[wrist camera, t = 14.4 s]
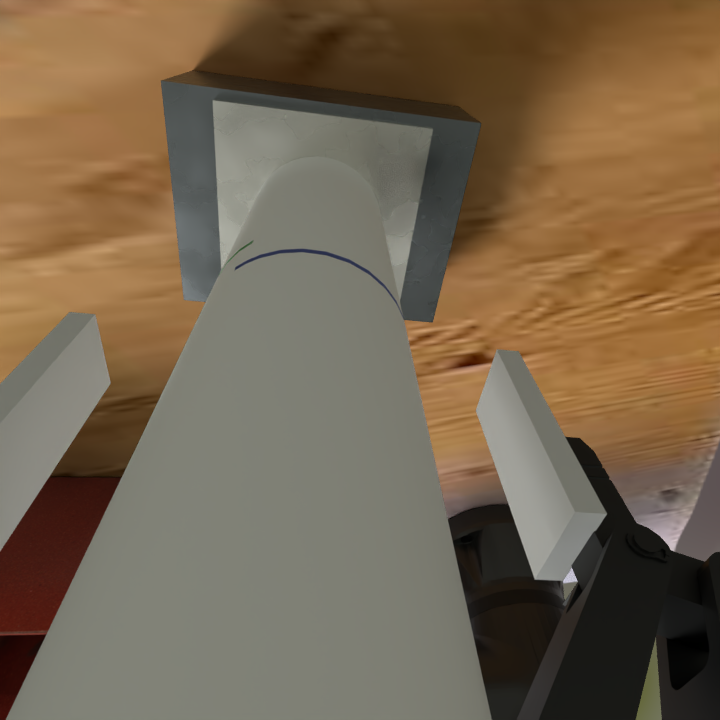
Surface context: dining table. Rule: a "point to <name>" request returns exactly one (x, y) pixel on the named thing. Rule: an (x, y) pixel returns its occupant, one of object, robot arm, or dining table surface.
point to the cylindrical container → (276, 503)
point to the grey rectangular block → (308, 139)
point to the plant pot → (43, 569)
